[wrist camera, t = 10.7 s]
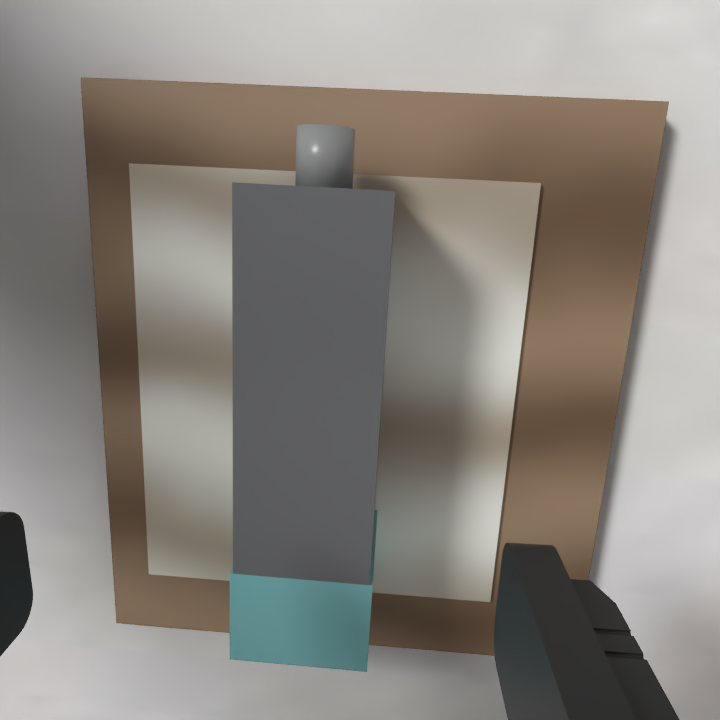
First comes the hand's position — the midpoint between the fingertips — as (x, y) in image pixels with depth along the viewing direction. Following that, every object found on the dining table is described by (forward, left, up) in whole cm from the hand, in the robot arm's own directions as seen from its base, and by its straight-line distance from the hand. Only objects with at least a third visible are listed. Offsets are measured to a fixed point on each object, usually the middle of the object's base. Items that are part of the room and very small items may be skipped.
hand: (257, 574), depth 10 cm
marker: (+1, 0, -11) cm, 11 cm away
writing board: (+1, +1, -12) cm, 12 cm away
